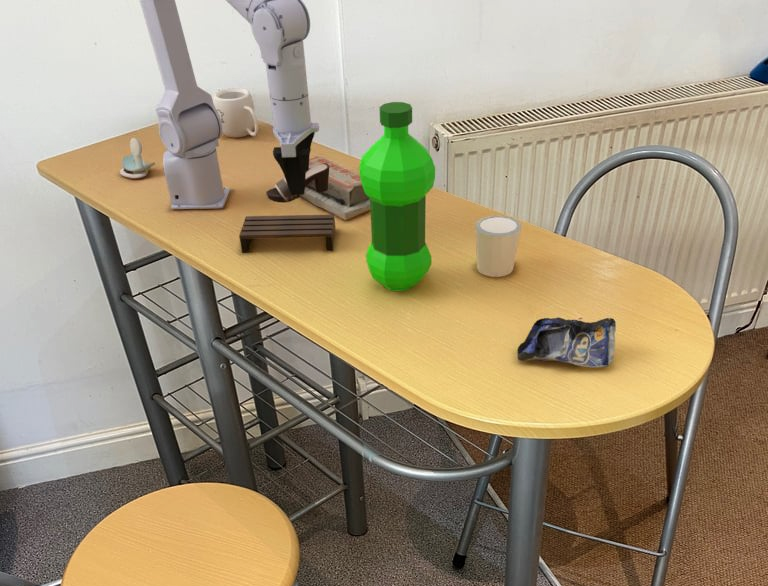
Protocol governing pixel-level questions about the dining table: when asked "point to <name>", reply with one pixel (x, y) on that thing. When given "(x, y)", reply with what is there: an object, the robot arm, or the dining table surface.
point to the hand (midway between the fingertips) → (299, 186)
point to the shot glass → (497, 245)
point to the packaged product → (338, 191)
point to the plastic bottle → (397, 201)
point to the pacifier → (139, 165)
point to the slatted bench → (287, 228)
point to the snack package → (570, 342)
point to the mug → (236, 112)
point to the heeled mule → (315, 173)
